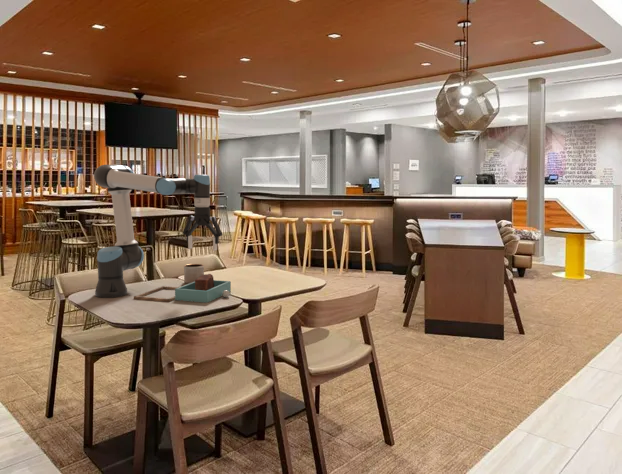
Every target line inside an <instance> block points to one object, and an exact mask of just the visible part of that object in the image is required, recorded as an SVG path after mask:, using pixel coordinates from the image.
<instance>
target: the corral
mask: <svg viewBox="0 0 622 474" xmlns="http://www.w3.org/2000/svg"><path fill="white" fill-rule="evenodd" d="M179 287H180V286H178V287H177V286H166V285H162V286H160V287H156V288H154V289H151V290H148V291H145V292H142V293H139V294H137V295H134V296H133V300H140V301H141V300H142V301H155V302H167V303H170V302H173V301H175V300H174V299H175V295H173V296H172V297H169V298H166V297H165V298H164V297H154V296H153V297H152V296H148V295H150V294H154V293H157V292H159V291H162V290H171V289H176V288H179ZM172 300H173V301H172Z"/></svg>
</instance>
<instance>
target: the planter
mask: <svg viewBox="0 0 622 474" xmlns="http://www.w3.org/2000/svg"><path fill="white" fill-rule="evenodd" d="M204 267H205V265H204V264H202V263H189V264H185V265H183V282H184V283H185V284H186V285H187V284H189V283H192V282H195V280H196V279H198V278H200V276H202V275H205V268H204Z"/></svg>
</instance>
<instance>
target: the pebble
mask: <svg viewBox="0 0 622 474" xmlns="http://www.w3.org/2000/svg"><path fill="white" fill-rule="evenodd" d="M230 293H231V292H229V291H228V290H224V291H223V292H222V297H224V298H228V297H230Z"/></svg>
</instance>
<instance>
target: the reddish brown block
mask: <svg viewBox="0 0 622 474" xmlns="http://www.w3.org/2000/svg"><path fill="white" fill-rule="evenodd" d="M214 280H215V279H214V276H213V274H211V273H206V274H205V273H204V275H202V276H200V278H198V279H196V280H195V290H203V291H207V290H209V289H211V288H214Z"/></svg>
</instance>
